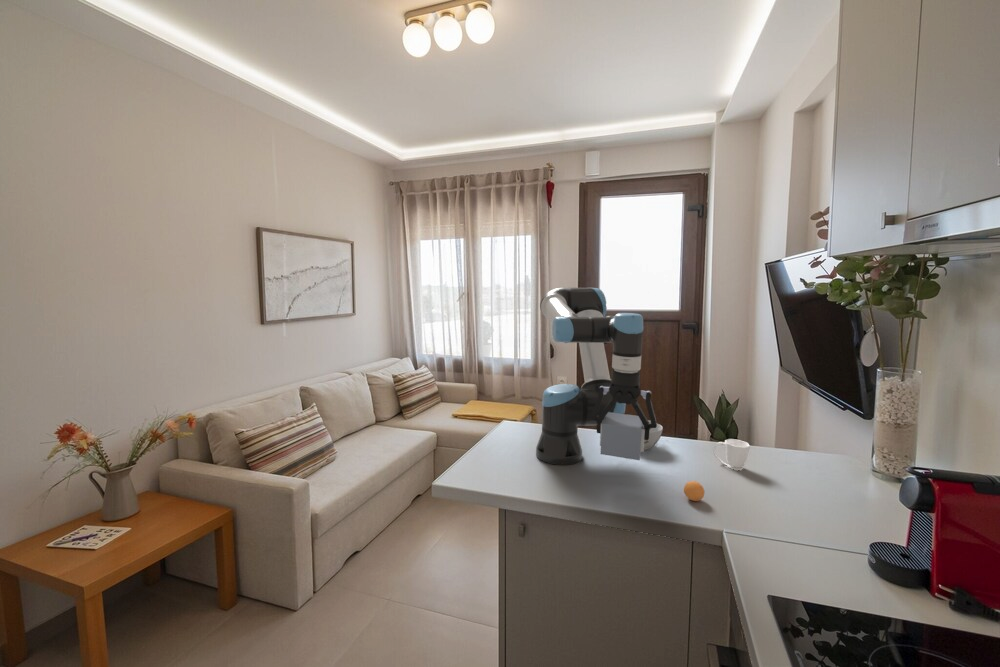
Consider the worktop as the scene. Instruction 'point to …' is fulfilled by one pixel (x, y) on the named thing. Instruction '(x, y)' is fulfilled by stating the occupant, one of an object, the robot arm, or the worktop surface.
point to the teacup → (653, 436)
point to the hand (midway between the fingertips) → (621, 447)
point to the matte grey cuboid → (621, 436)
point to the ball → (694, 491)
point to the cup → (734, 453)
